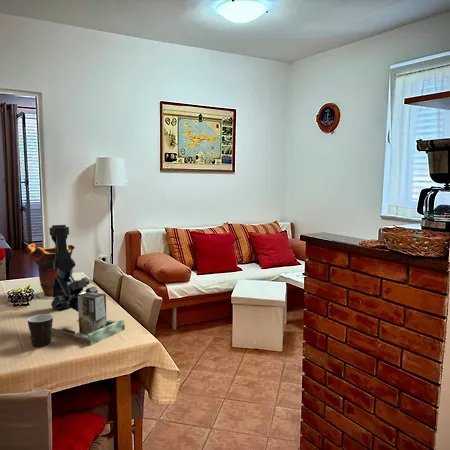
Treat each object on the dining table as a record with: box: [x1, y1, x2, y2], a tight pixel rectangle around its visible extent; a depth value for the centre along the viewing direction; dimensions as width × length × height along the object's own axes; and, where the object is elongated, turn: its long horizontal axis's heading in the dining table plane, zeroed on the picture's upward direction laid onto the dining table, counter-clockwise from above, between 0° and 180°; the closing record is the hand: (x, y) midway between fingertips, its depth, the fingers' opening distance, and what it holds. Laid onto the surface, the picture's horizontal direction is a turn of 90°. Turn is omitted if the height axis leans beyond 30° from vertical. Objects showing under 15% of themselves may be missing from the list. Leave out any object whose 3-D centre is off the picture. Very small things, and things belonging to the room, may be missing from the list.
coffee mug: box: [26, 313, 54, 348], centre depth 153 cm, size 12×9×10 cm
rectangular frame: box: [51, 319, 126, 346], centre depth 167 cm, size 18×24×4 cm
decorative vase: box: [27, 243, 76, 300], centre depth 217 cm, size 21×23×28 cm
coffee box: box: [78, 292, 108, 336], centre depth 164 cm, size 9×6×16 cm
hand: (84, 314), depth 167 cm, fingers closed
